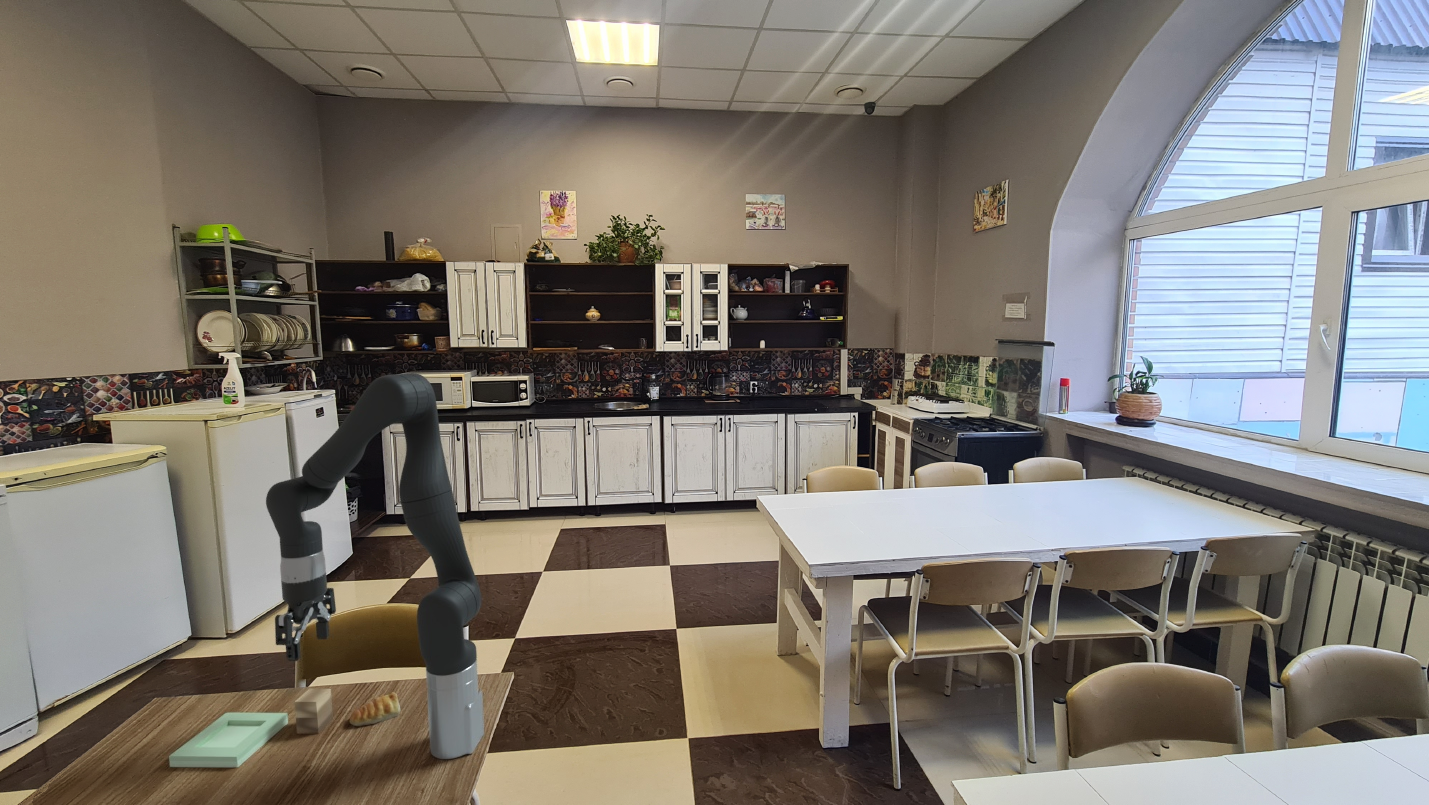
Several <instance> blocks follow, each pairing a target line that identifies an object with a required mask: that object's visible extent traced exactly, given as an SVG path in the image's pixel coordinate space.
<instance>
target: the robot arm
mask: <svg viewBox="0 0 1429 805" xmlns="http://www.w3.org/2000/svg"><path fill="white" fill-rule="evenodd" d="M431 384H432V383H430V381H429V380H428V379H427V378H426V377H425V376H423V375H421V374H420V373H416V372H415V373H414V372H408V373H406V372H405V373H397V374H395V373H394V374H387V375H382V376H380V377H377V378H375V379H374V380H373V381H372V382H371V383H370V384H369V385H368V386H367V387H366V389H365V390H364V392H363V393H362V394H361V396H360V397H359V399H358V400H357V402H356V403H355V405H354V406H353V407H352V409H351V411H350V412H349V413H348V414H347V416H346V418H345V419H344V420H343V421H342V422H341V424H340V426H338V428H337V429H336V430H335V432H333V434H332V435H331V436H330V437H329V438H328V440H326V441H325V442H324V443H323V444H322V445H321V446H320V447H319V448H318V449H317V450H316V451H315V452H314V453H313V454H312V455H311V456H309V458H308V459H307V460H306V461H305V462H304V464H303V465H302V469H301V474H302V475H301V476H298V477H295V478H290V479H287V480H284V481H283V480H282V481H279V482H276V483H275V484H273V485H272V486H271V487H270V488H269V489H268V490H267V491H268V492H267V493H266V497H265V504H266V506H265V507H266V509H267V512H268V514H269V516H270V519H271V520H272V523H273V525H274V529H275V530H276V532H277V535H278V537H279V548H280V550H279V552H280V572H279V573H280V582H281V594H282V600H283V601H284V602H285V603H287V605H288V607H287V611H286V613H284V614H276V616H275V617H274V631H275V634H274V635H275V636H274V637H275V645H276V646H285V655H286V659H287V660H288V661H289V662H297V661H299V660H301V657H302V655H301V645H300V644H301V643H300V640H301V636H302V633H303V632H305V631H306V629H307V626H308V625H309V623H311V621H313V620H315V621H316V622H315V629H316V630H315V631H316V639H318V640H327V639H328V638H329V637H330V624H329V621H330V620H331V618H332V615H335V614H336V612H337V608H336V607H337V606H336V598H335V589H334V588H333V587H328V583H327V580H328V579H327V570H326V568H327V567H326V557H325V554H324V548H323V533H322V527H321V525H320V523H318V522H316V521H314V520H313V521H311V520H309V521H308V520H307V521H306V520H304V519H303V516H302V513H304V512H307V511H310V510H313V509H316V508H317V507H320V506H322V505H323V504H324V503H326V501H328V500H329V499H330V498H331V496H332V495H333V493H334V491H335V489H336V488H337V486H338V484H339V482H340V481H342V480H343V479H345V477H346V476H347V475H348V474H349V473H350V472H351V471H352V470H354V468H355V467H356V466H357V465H358V464H359V463H360V461H361V460H362V458H363V456H364V454H365V451H366V447H367V445H368V444H369V442H370V441H371V440H372V439H373V438H374V437H375V436H376V435H377V434H380V433H381V432H382V431H383V430H385V429H386V428H388V427H389V426H392V425H393V424H399V423H401V424H402V428H403V433H404V439H405V444H406V445H405V446H406V447H405V448H406V450H405V451H406V452H405V457H404V462H403V467H402V469H401V470H402V471H401V476H400V481H399V487H398V494H399V501H400V505H401V506H400V507H401V509H402V514H403V518H404V521H405V524H406V527H407V529H408V530H409V532H410V533H411V535H412V536H413V537H414V538H415V539H416V540H417V541H418V543H419V544H421V546H422V547H423V548H424V549H425V550H426V552H427V553H428V554H429V555H430V557H431V559H432V561H433V565H434V567H435V572H436V577H437V583H438V586H437V587H436V588H435V589H433V590H431V591H430V592H428V594H426V595H424V597H422V598H421V600H420V602H419V604H418V606H417V610H416V611H417V612H416V623H417V626H416V627H417V634H418V642H419V643H418V644H419V651H420V654H421V657H422V659H423V660H424V663H425V673H426V674H425V676H426V677H425V678H426V695H427V710H428V712H427V713H428V714H427V715H428V717H427V718H428V729H429V730H428V733H429V747H430V748H429V749H430V754H431V755H432V756H433V757H435V758H437V759H440V760H450V759H456V758H460V757H462V756H464V755H470V754H473V752H474V751H475V749H476V747H477V746H478V744H479V742H480V741H481V739H482V738H483V737H484V734H485V725H484V724H485V720H484V703H483V702H484V700H483V691H482V690H479V685H478V684H479V683H478V682H479V680H478V679H479V678H478V664H477V663H478V659H477V658H478V657H477V656H478V655H477V654H478V653H477V646H476V644H475V642H474V641H472V640H470V639H467V638H465V636H464V627H465V625H467V624H468V623H469V622H470V621H471V620H472V619H474V618H475V617H476V616H477V615H478V613H479V612H480V609H481V606H482V593H481V588H480V586H479V582H478V580H477V577H476V574H475V572H474V569H473V566H472V562H471V561H470V560H471V559H470V558H469V554H468V552H467V548H466V544H465V540H464V536H463V532H462V528H461V524H460V520H459V516H458V509H457V506H456V501H455V496H454V492H453V487H452V483H451V480H450V476H449V473H448V468H447V464H446V463H447V462H446V458H445V453H444V450H443V444H442V439H441V438H442V437H441V432H440V424H439V422H440V421H439V413H438V404H437V399H436V394H435V391H434V387H433V386H432V385H431ZM328 605H329V607H328ZM327 607H328V608H327ZM294 624H295V626H294ZM296 625H299V626H296ZM293 632H295V633H294V636H293ZM283 635H284V636H283Z"/></svg>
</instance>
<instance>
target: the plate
mask: <svg viewBox="0 0 1429 805" xmlns="http://www.w3.org/2000/svg"><path fill="white" fill-rule="evenodd" d="M288 716H289V715H288V712H225V713H224V714H222V715H221V716H220V717H218V718H217V719H216V720H214V721H213V722H212V723H210V724H209V725H208V726H206V727H205V728H204V729H203V730H201V732H198V733H197V734H196V735H195V736H193V737H192V738H191V739H190V740H188V741H187V742H186V743H184V744H183V745H182V746H181V747H179V748H178V749H176V750H175V751H174V752H173V753H171V754H170V755H169V756H168V761H169V767H170V768H239V767H240V766H241V765H242V764H243V763H244V762H246V761H247V760H248V759H249V758H250V757H251V756H252V755H254V754H255V753H256V752H257V751H258V750H259V749H261V748H262V746H264V745H265V744H266V743H268V742H269V740H271V739H272V738H273V737H275V735H276V734H278V733H279V731H281V730H282V729H283V728H284V727H285V726H286V725H287V724H289V717H288Z"/></svg>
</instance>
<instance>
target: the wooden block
mask: <svg viewBox="0 0 1429 805" xmlns="http://www.w3.org/2000/svg"><path fill="white" fill-rule="evenodd" d="M332 700H333V698H332V689H331V688H308V690H306V691H305V692H304V693H302V695H300V697H298V698H297V699H296V700H295V701H294V711H295V725H296V734H310V735H311V734H313V735H314V734H317V735H318V734H320V733H321V732H322V731H323V730H324V729H325V728H326V727H327V726H328V725H329V724H330V723H331V722H333V720H334V716H333V715H334V714H333V704H332V703H333V701H332Z"/></svg>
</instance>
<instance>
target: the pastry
mask: <svg viewBox="0 0 1429 805" xmlns="http://www.w3.org/2000/svg"><path fill="white" fill-rule="evenodd" d="M400 713H401V706H400V703H399V699H398V694H397V693H396V692H394V691H393V692H390V694H386V695H385V694H384V695H381V696H377V697H374V698H373V699H372V700H371V701H369V702H367V703H366V704H362V705H361V706H360V707H358V708H356V709H355V710H354V711H352V713H351V715H350V717H349V724H351V725H353V726H355V727H362V726H367V725H375V724H377V723H382V722H384V721H388V720H390V719H393V718H395V717H398V716H399V715H400Z"/></svg>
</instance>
